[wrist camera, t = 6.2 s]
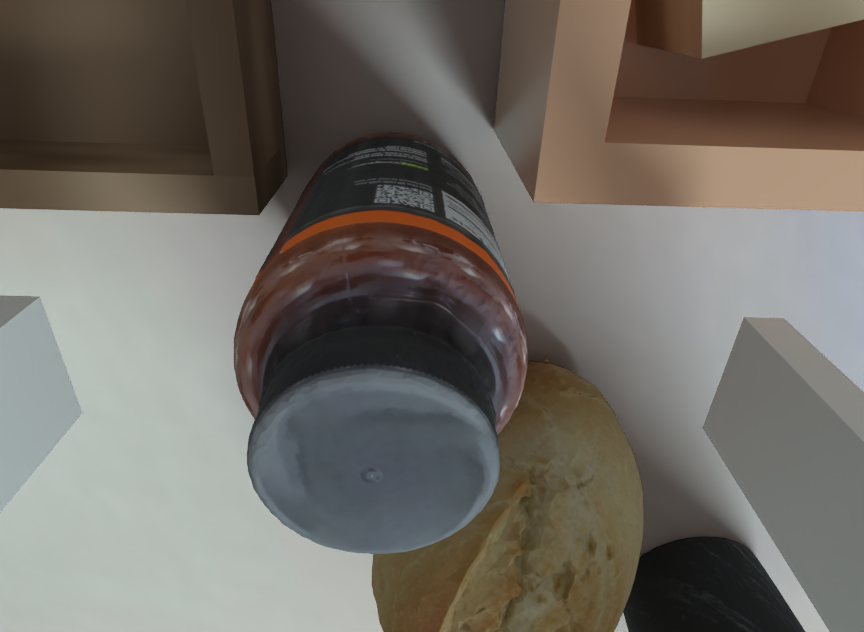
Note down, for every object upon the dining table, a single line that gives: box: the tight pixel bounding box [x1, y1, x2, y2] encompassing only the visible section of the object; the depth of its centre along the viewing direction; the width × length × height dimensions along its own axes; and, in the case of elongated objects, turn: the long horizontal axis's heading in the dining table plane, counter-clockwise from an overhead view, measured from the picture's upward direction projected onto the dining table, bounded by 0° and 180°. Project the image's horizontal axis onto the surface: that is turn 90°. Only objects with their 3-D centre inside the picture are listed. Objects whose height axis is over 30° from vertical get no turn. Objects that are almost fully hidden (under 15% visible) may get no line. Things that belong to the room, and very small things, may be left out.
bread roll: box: [372, 359, 644, 632], centre depth 21 cm, size 10×15×8 cm, turn 171°
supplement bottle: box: [234, 133, 528, 554], centre depth 13 cm, size 6×6×11 cm
